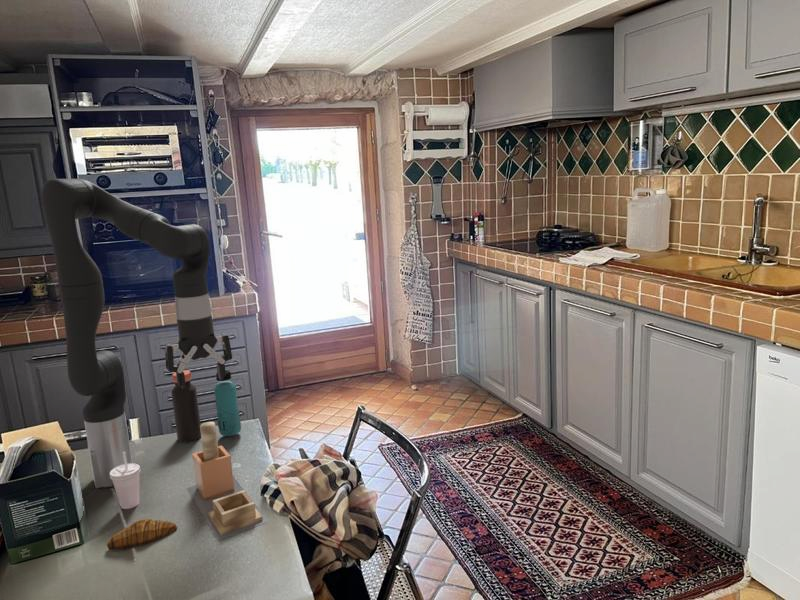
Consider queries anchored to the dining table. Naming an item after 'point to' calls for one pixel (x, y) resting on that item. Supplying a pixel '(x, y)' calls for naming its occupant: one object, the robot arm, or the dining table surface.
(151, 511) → the dining table surface
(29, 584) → the dining table surface
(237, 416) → the beverage bottle
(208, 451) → the dowel
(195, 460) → the deep cup
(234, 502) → the short stand
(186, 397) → the vinegar
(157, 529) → the croissant
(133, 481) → the smoothie
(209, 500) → the slate board
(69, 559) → the dining table surface
